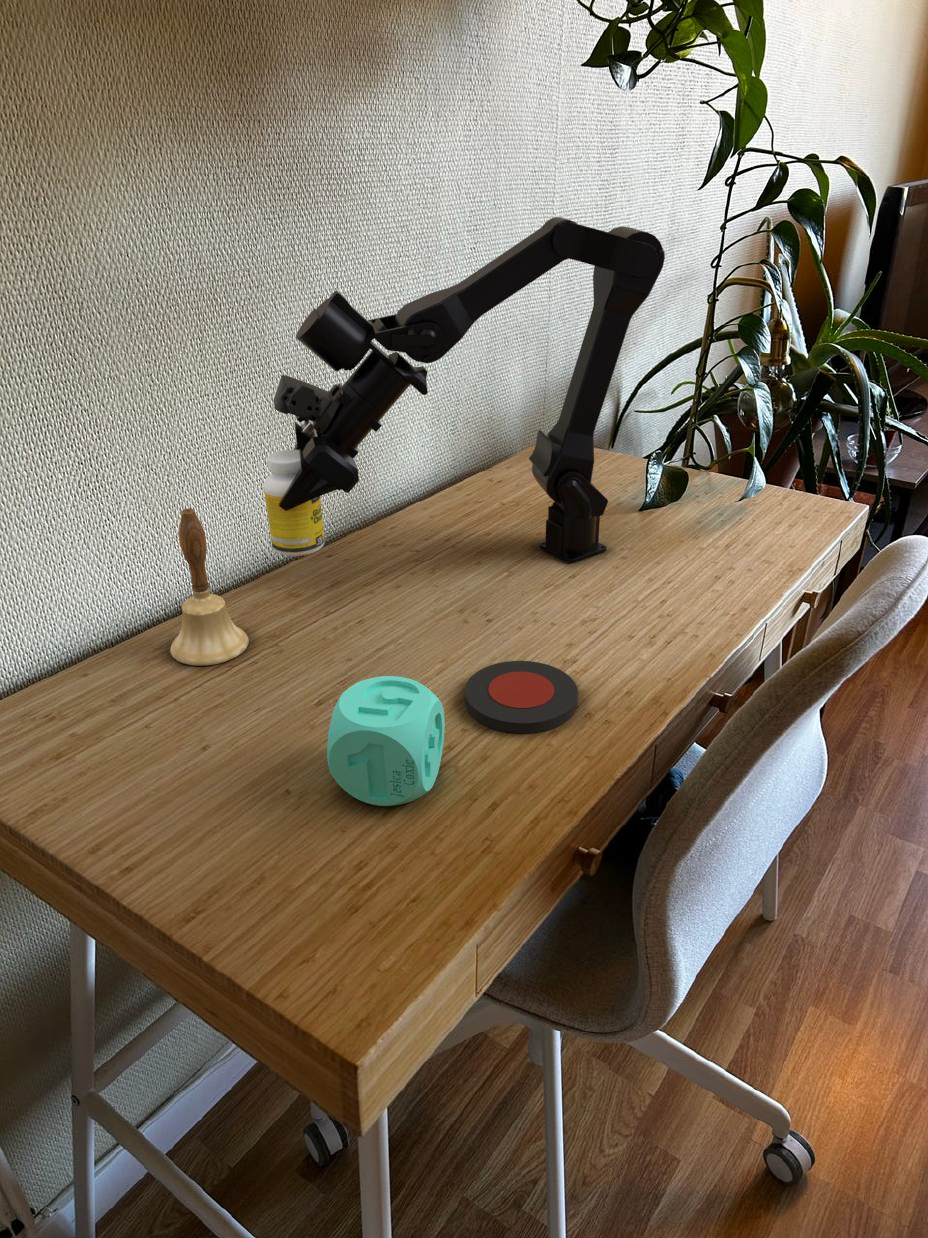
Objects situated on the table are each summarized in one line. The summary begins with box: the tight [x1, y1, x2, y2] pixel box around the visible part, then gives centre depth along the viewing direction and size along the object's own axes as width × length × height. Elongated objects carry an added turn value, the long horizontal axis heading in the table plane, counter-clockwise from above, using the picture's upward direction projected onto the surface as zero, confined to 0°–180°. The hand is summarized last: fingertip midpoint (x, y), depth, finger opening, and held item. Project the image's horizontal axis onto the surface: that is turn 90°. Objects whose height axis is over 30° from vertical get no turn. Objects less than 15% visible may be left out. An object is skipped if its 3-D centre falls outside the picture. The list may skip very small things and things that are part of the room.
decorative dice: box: [326, 675, 446, 807], centre depth 77 cm, size 8×8×8 cm
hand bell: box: [169, 507, 250, 667], centre depth 96 cm, size 8×8×16 cm
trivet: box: [464, 660, 579, 734], centre depth 89 cm, size 11×11×1 cm
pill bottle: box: [263, 449, 326, 557], centre depth 109 cm, size 6×6×12 cm
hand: (280, 497), depth 108 cm, fingers closed on pill bottle, 6 cm apart
